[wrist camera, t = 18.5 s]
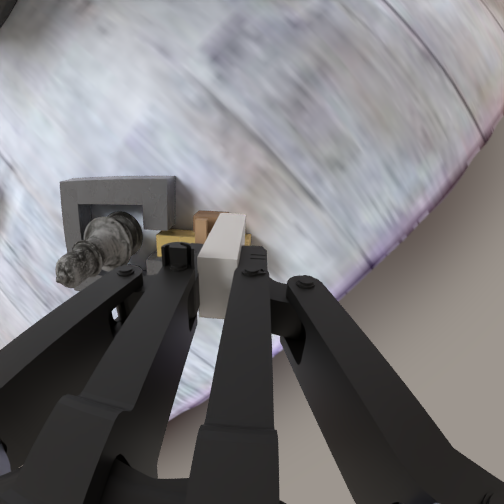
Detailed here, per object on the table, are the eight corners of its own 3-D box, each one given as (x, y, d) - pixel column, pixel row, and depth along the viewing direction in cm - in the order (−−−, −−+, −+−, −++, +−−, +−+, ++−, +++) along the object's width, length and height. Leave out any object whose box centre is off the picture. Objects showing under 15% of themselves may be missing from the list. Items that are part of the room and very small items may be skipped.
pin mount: (199, 210, 28) (189, 219, 24) (228, 212, 28) (223, 221, 24) (199, 267, 30) (190, 283, 27) (227, 270, 30) (221, 286, 27)
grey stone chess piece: (155, 240, 29) (98, 294, 18) (121, 268, 31) (64, 324, 19) (122, 197, 28) (51, 230, 17) (91, 229, 29) (23, 270, 18)
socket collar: (72, 178, 27) (59, 181, 25) (175, 175, 27) (166, 178, 24) (84, 281, 32) (74, 290, 29) (178, 293, 31) (171, 304, 29)
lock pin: (163, 228, 28) (151, 238, 25) (251, 234, 28) (249, 245, 25) (164, 248, 29) (152, 261, 26) (250, 255, 29) (247, 268, 26)
